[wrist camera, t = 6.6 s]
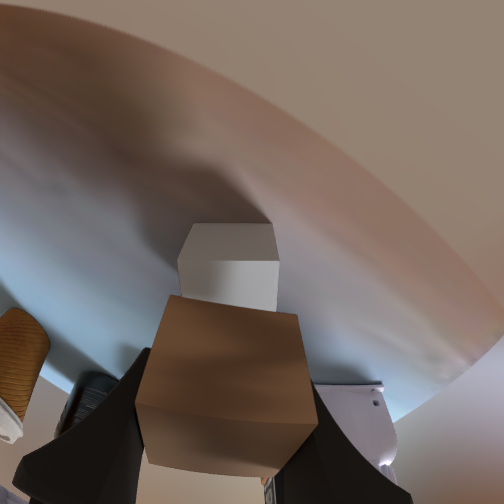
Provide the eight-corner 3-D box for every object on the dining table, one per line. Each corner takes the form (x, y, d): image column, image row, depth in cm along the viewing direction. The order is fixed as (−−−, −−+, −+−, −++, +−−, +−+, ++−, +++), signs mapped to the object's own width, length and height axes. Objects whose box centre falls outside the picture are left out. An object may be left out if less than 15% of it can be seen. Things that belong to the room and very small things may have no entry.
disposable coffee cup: (36, 293, 21) (-34, 387, 10) (76, 366, 26) (36, 457, 15) (-15, 294, 22) (-73, 365, 11) (23, 358, 26) (-18, 430, 15)
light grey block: (272, 222, 19) (279, 260, 14) (269, 289, 21) (274, 336, 17) (193, 222, 19) (176, 260, 14) (199, 288, 21) (187, 335, 16)
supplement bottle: (69, 376, 27) (32, 460, 16) (99, 362, 25) (59, 463, 14) (111, 410, 29) (87, 491, 18) (146, 400, 28) (123, 496, 17)
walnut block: (297, 314, 11) (318, 423, 7) (267, 388, 14) (273, 477, 9) (170, 294, 11) (134, 402, 7) (168, 374, 13) (148, 463, 9)
